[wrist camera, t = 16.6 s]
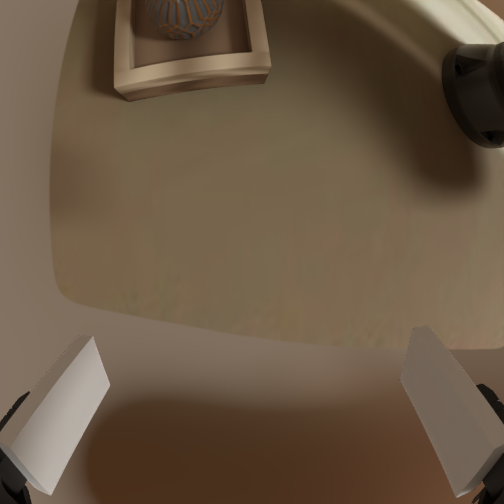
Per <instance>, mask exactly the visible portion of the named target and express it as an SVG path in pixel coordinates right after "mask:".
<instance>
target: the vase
mask: <svg viewBox="0 0 504 504" xmlns="http://www.w3.org/2000/svg"><path fill="white" fill-rule="evenodd" d="M223 5H224V0H146V13H147V16H148V18H149V20H150V22H151V24H152V25H153V27H154V28H155V29H156V30H157V31H159V32H160V33H161V34H163V35H165V36H167V37H169V38H173V39H178V40H187V39H193V38H196V37H199V36H201V35H203V34H205V33H206V32H208V31H209V30H210V29H211V28H213V26H214V25H215V24H216V23H217V21H218V20H219V18H220V16H221V14H222V11H223Z"/></svg>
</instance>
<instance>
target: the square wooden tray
mask: <svg viewBox="0 0 504 504" xmlns="http://www.w3.org/2000/svg"><path fill="white" fill-rule="evenodd" d="M270 68H271V60H270V53H269V47H268V40H267V34H266V27H265V21H264V15H263V9H262V3H261V0H224V5H223V11H222V14H221V16H220V18H219V20H218V21H217V23H216V24H215V25H214V26H213V28H211V29H210V30H209V31H208V32H206V33H205V34H203V35H201V36H199V37H196V38H193V39H187V40H178V39H173V38H169V37H167V36H165V35H163V34H161V33H160V32H159V31H157V30H156V29H155V28H154V27H153V25H152V24H151V22H150V20H149V18H148V16H147V13H146V0H117V7H116V21H115V42H114V88H115V89H116V90H117V91H118V92H119V93H120V94H121V95H122V96H123V97H124V98H126V99H127V100H128V101H129V102H131V101H136V100H141V99H146V98H151V97H156V96H162V95H167V94H173V93H179V92H186V91H193V90H200V89H208V88H217V87H226V86H237V85H249V84H264V83H265V80H266V78H267V75H268V73H269V70H270Z"/></svg>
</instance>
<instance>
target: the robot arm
mask: <svg viewBox="0 0 504 504" xmlns="http://www.w3.org/2000/svg"><path fill="white" fill-rule="evenodd" d="M442 80H443V86H444V91H445V95H446V98H447V101H448V104H449V106H450V109H451V111H452V113H453V115H454V117H455V119H456V120H457V122H458V124H459V125H460V127H461V128H462V129H463V131H464V132H465V133H466V134H467V135H468V136H469V137H470V138H471V139H472V140H473V141H474V142H475V143H477V144H478V145H480V146H482V147H485V148H502V147H504V42H502V43H499V44H496V45H493V44H466V45H462V46H460V47H458V48H456V49H454V50H452V51H450V52H449V53H448V54H447V56H446V57H445V60H444V63H443V68H442ZM400 381H401V383H402V385H403V387H404V389H405V391H406V393H407V394H408V396H409V398H410V400H411V402H412V404H413V406H414V408H415V410H416V412H417V414H418V416H419V418H420V420H421V422H422V424H423V426H424V428H425V430H426V432H427V434H428V437H429V439H430V441H431V443H432V445H433V447H434V449H435V451H436V454H437V456H438V458H439V460H440V462H441V464H442V466H443V469H444V471H445V473H446V476H447V478H448V480H449V482H450V485H451V487H452V490H453V492H454V494H455V496H456V497H459V496H461V495H464V494H466V493H468V492H470V491H473V490H474V489H475V488H476V487H477V486H478V485H479V484H480V483H481V481H483V483H484V485H485V487H484V488H483V489H482V490H481V492H479V494H478V495H477V496H476V497H475V498H474V499H473V501H472V503H473V504H474V503H475V502H476V501H477V500H478V499H479V501H478V504H504V405H503V404H502V403H501V402H500V400H499V398H498V397H497V396H496V394H495V393H494V392H493V390H491V389H490V388H488V387H487V386H485V385H484V384H479V385H475V384H474V383H473V381H472V380H471V379H470V377H469V376H468V375H467V374H466V372H465V371H464V370H463V368H462V367H461V366H460V364H459V363H458V362H457V361H456V359H455V358H454V357H453V356H452V354H451V353H450V352H449V351H448V349H447V348H446V347H445V346H444V344H443V343H442V342H441V341H440V339H439V338H438V337H437V336H436V335H435V333H434V332H433V331H432V330H431V329H430V327H429V326H422V327H415V328H412V332H411V337H410V341H409V346H408V350H407V354H406V358H405V362H404V366H403V370H402V373H401V378H400ZM109 386H110V383H109V381H108V378H107V375H106V373H105V370H104V367H103V365H102V362H101V359H100V356H99V353H98V350H97V347H96V344H95V341H94V338H93V336H85V335H78V337H77V338H76V339H75V340H74V341H73V342H72V343H71V345H70V346H69V347H68V348H67V349H66V350H65V351H64V353H63V354H62V355H61V356H60V357H59V358H58V360H57V361H56V362H55V363H54V364H53V366H52V367H51V368H50V369H49V371H48V372H47V373H46V374H45V375H44V376H43V378H42V379H41V380H40V381H39V382H38V384H37V385H36V386H35V388H34V389H33V390H32V391H31V392H27V393H26V394H24V395H23V396H21V397H20V398H19V399H18V400H17V401H16V402H15V404H14V405H13V406H12V409H10V410H9V411H8V413H7V415H5V416H4V418H3V419H2V420H1V422H0V504H32V503H31V499H30V495H29V491H28V489H27V487H26V486H25V483H26V481H27V480H28V481H29V482H30V483H31V484H32V485H33V487H34V488H35V489H37V490H40V491H42V492H44V493H46V494H49V495H52V492H53V491H54V489H55V486H56V484H57V482H58V480H59V478H60V477H61V475H62V473H63V471H64V468H65V467H66V465H67V463H68V461H69V459H70V457H71V455H72V453H73V451H74V450H75V448H76V446H77V444H78V442H79V440H80V438H81V437H82V434H83V433H84V431H85V429H86V427H87V426H88V424H89V422H90V420H91V418H92V416H93V414H94V413H95V411H96V409H97V408H98V406H99V404H100V402H101V401H102V399H103V397H104V395H105V393H106V392H107V390H108V388H109Z"/></svg>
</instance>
